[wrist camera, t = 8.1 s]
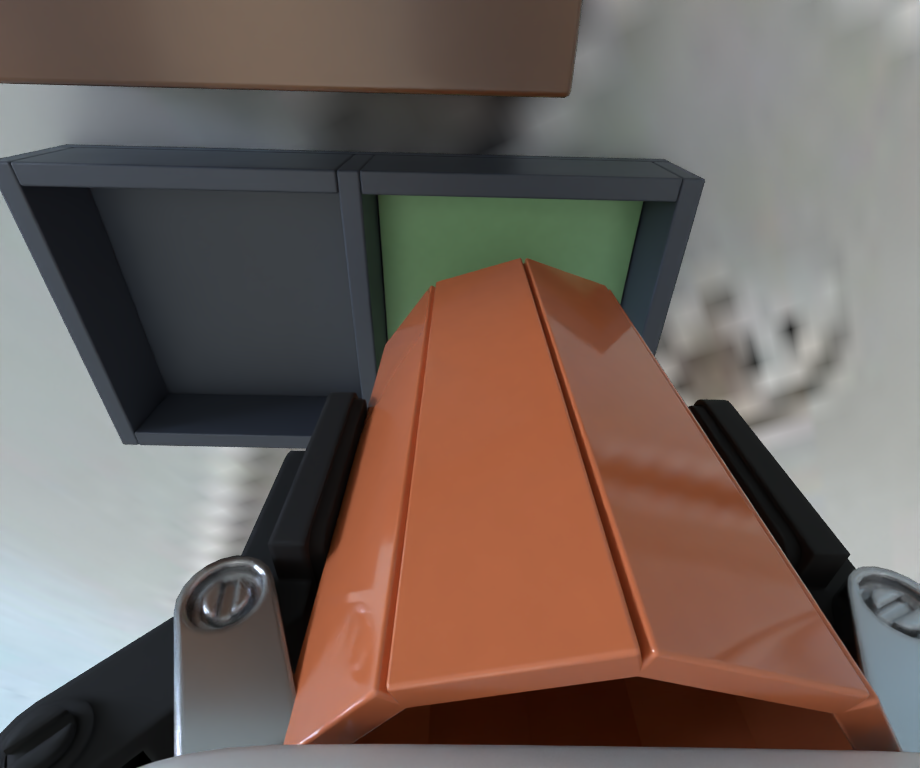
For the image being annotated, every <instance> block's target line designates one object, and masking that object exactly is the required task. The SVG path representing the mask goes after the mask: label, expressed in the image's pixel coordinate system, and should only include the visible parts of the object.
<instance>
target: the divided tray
mask: <svg viewBox="0 0 920 768" xmlns="http://www.w3.org/2000/svg"><path fill="white" fill-rule="evenodd" d="M704 183H705V179H703V178H701V177H699V176H697V175H695V174H693V173H691V172H689V171H687V170H685V169H683V168H681V167H679V166H677V165H675V164H673V163H671V162H669V161H667V160H665V159H629V158H589V157H549V156H509V155H468V154H428V153H388V152H348V151H308V150H268V149H227V148H187V147H147V146H107V145H67V144H66V145H62V146H57V147H53V148H48V149H43V150H38V151H33V152H29V153H24V154H19V155H14V156H10V157H5V158H0V191H1V193H2V195H3V197H4V199H5V201H6V203H7V205H8V207H9V209H10V211H11V213H12V215H13V218H14V220H15V222H16V224H17V226H18V228H19V230H20V232H21V234H22V236H23V238H24V240H25V242H26V244H27V246H28V248H29V251H30V253H31V255H32V257H33V259H34V261H35V263H36V265H37V267H38V269H39V271H40V273H41V275H42V277H43V279H44V281H45V284H46V286H47V288H48V290H49V292H50V294H51V296H52V298H53V300H54V302H55V304H56V306H57V308H58V310H59V312H60V315H61V317H62V319H63V321H64V323H65V325H66V327H67V329H68V331H69V333H70V335H71V337H72V339H73V341H74V343H75V345H76V348H77V350H78V352H79V354H80V356H81V358H82V360H83V362H84V364H85V366H86V368H87V370H88V372H89V374H90V376H91V378H92V381H93V383H94V385H95V387H96V389H97V391H98V393H99V395H100V397H101V399H102V401H103V403H104V405H105V407H106V409H107V412H108V414H109V416H110V418H111V420H112V422H113V424H114V426H115V428H116V430H117V432H118V434H119V436H120V438H121V440H122V442H123V444H131V445H138V444H140V445H167V446H215V447H262V448H307V446H308V443H309V441H310V438H311V436H312V434H313V431H314V429H315V426H316V424H317V421H318V419H319V416H320V414H321V411H322V409H323V407H324V404H325V402H326V399H327V397H328V395H329V393H330V392H354V393H356V394H357V396H358V399H365V400H366V403H367V409H368V405H369V402H370V398H371V394H372V391H373V387H374V384H375V380H376V376H377V373H378V369H379V366H380V362H381V358H382V355H383V351H384V348H385V345H386V343H387V342H388V341H389V339H390V338H391V337H392V335H393V334H394V333H395V332H396V330H397V329H398V328H399V326H400V325H401V324H402V322H403V321H404V320H405V319H406V317H407V316H408V315H409V313H410V312H411V311H412V309H413V308H414V307H415V306H416V304H417V303H418V302H419V300H420V299H421V298H422V296H423V295H424V294H425V293H426V291H427V290H428V289H429V287H430V286H434V287H435V285H436V282H438V281H441V280H445V279H448V278H452V277H455V276H459V275H462V274H466V273H469V272H473V271H476V270H480V269H483V268H487V267H490V266H494V265H497V264H501V263H504V262H508V261H511V260H515V259H518V258H521V259H522V261H523V263H524V261H525V259H526V258H528V259H531V260H534V261H537V262H540V263H543V264H545V265H548V266H551V267H554V268H557V269H560V270H563V271H565V272H568V273H571V274H574V275H577V276H580V277H582V278H585V279H588V280H591V281H594V282H597V283H599V284H602V285H605V286H606V287H607V289H608V290H609V289H610V290H611V291H612V293H613V294H614V296H615V297H616V299H617V300H618V302H619V303H620V305H621V306H622V308H623V309H624V311H625V312H626V314H627V315H628V317H629V318H630V320H631V322H632V323H633V325H634V326H635V328H636V329H637V331H638V332H639V334H640V335H641V337H642V338H643V340H644V341H645V343H646V344H647V346H648V347H649V349H650V350H651V352H652V353H653V355H654V356H655V354H656V350H657V347H658V343H659V340H660V336H661V333H662V329H663V326H664V322H665V319H666V315H667V312H668V308H669V305H670V301H671V298H672V294H673V291H674V287H675V284H676V280H677V277H678V273H679V270H680V266H681V263H682V259H683V256H684V252H685V249H686V245H687V242H688V239H689V235H690V232H691V228H692V225H693V221H694V218H695V214H696V211H697V207H698V204H699V200H700V197H701V193H702V190H703V186H704Z"/></svg>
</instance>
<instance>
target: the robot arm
mask: <svg viewBox="0 0 920 768" xmlns="http://www.w3.org/2000/svg"><path fill="white" fill-rule="evenodd" d="M688 408H689V410H690V411H691V413H692V414H693V416H694V417H695V419H696V420H697V422H698V423H699V425H700V426H701V428H702V429H703V431H704V432H705V434H706V435H707V437H708V439H709V440H710V442H711V443H712V445H713V446H714V448H715V449H716V451H717V452H718V454H719V455H720V457H721V458H722V460H723V461H724V463H725V464H726V466H727V467H728V469H729V470H730V472H731V473H732V475H733V476H734V478H735V480H736V481H737V483H738V484H739V486H740V487H741V489H742V490H743V492H744V493H745V495H746V496H747V498H748V499H749V501H750V502H751V504H752V505H753V507H754V508H755V510H756V511H757V513H758V514H759V516H760V518H761V519H762V521H763V522H764V524H765V525H766V527H767V528H768V530H769V531H770V533H771V534H772V536H773V537H774V539H775V540H776V542H777V543H778V545H779V546H780V548H781V549H782V551H783V552H784V554H785V555H786V557H787V559H788V560H789V562H790V563H791V565H792V566H793V568H794V569H795V571H796V572H797V574H798V575H799V577H800V578H801V580H802V581H803V583H804V584H805V586H806V587H807V589H808V590H809V592H810V593H811V595H812V597H813V598H814V600H815V601H816V603H817V604H818V606H819V607H820V609H821V610H822V612H823V613H824V615H825V616H826V618H827V619H828V621H829V622H830V624H831V625H832V627H833V628H834V630H835V631H836V633H837V634H838V636H839V638H840V639H841V641H842V642H843V644H844V645H845V647H846V648H847V650H848V651H849V653H850V654H851V656H852V657H853V659H854V660H855V662H856V663H857V665H858V666H859V668H860V669H861V671H862V672H863V674H864V676H865V677H866V679H867V680H868V682H869V683H870V685H871V686H872V688H873V689H874V691H875V692H876V694H877V695H878V697H879V699H880V701H881V703H882V706H883V708H884V710H885V712H886V714H887V717H888V719H889V721H890V723H891V725H892V728H893V730H894V732H895V734H896V737H897V739H898V741H899V743H900V745H901V748H902V750H903V752H891V751H857V750H805V749H753V748H696V747H628V746H554V745H453V744H309V745H283V744H284V740H285V736H286V732H287V729H288V725H289V721H290V717H291V713H292V710H293V706H294V702H295V698H296V690H295V682H294V673H295V669H296V666H297V662H298V659H299V655H300V651H301V648H302V644H303V640H304V637H305V633H306V630H307V626H308V622H309V619H310V615H311V611H312V608H313V604H314V601H315V597H316V593H317V590H318V586H319V583H320V579H321V575H322V572H323V568H324V565H325V562H326V558H327V555H328V551H329V547H330V544H331V540H332V536H333V533H334V529H335V526H336V522H337V518H338V515H339V511H340V507H341V504H342V500H343V497H344V493H345V489H346V486H347V482H348V478H349V475H350V471H351V468H352V464H353V460H354V457H355V453H356V449H357V446H358V442H359V439H360V435H361V431H362V428H363V424H364V420H365V417H366V413H367V403H366V400H365V399H358V396H357V394H356V393H354V392H330V393H329V395H328V397H327V399H326V402H325V404H324V407H323V409H322V411H321V414H320V416H319V419H318V421H317V424H316V426H315V429H314V431H313V434H312V436H311V438H310V441H309V443H308V446H307V448H306V451H290V452H289V453H288V454H287V456H286V458H285V459H284V462H283V464H282V466H281V468H280V470H279V473H278V475H277V477H276V479H275V482H274V484H273V486H272V488H271V490H270V493H269V495H268V497H267V499H266V502H265V504H264V506H263V508H262V510H261V513H260V515H259V517H258V519H257V522H256V524H255V526H254V528H253V530H252V533H251V535H250V537H249V539H248V541H247V544H246V546H245V548H244V550H243V553H242V555H241V556H232V557H228V558H223V559H220V560H218V561H216V562H214V563H211V564H209V565H207V566H206V567H204V568H203V569H202V570H200V571H199V572H197V573H196V574H195V575H194V576H193V577H192V578H191V579H190V580H189V581H188V582H187V583H186V584H185V586H184V587H183V588H182V590H181V592H180V594H179V596H178V598H177V599H176V604H175V609H174V617H172V618H170V619H169V620H167V621H166V622H164V623H162V624H161V625H159V626H158V627H156V628H154V629H153V630H151V631H150V632H148V633H146V634H145V635H143V636H142V637H140V638H138V639H137V640H135V641H134V642H132V643H130V644H129V645H127V646H126V647H124V648H122V649H121V650H119V651H118V652H116V653H114V654H113V655H111V656H110V657H108V658H106V659H105V660H103V661H102V662H100V663H98V664H97V665H95V666H94V667H92V668H90V669H89V670H87V671H86V672H84V673H82V674H81V675H79V676H78V677H76V678H74V679H73V680H71V681H70V682H68V683H66V684H65V685H63V686H62V687H60V688H58V689H57V690H55V691H54V692H52V693H50V694H49V695H47V696H45V697H44V698H42V699H41V700H39V701H37V702H36V703H35V704H33V705H32V706H31V707H29V708H28V709H26V710H25V711H24V712H22V713H21V714H20V715H18V716H17V717H16V718H15V719H14V720H13V721H12V722H11V723H10V724H9V725H8V726H7V727H6V728H5V729H4V730H3V731H2V732H1V733H0V768H920V584H918V583H917V582H915V581H913V580H912V579H910V578H908V577H906V576H904V575H901V574H899V573H897V572H894V571H892V570H888V569H884V568H880V567H861V568H858V569H855V567H854V566H853V565H852V563H851V562H850V561H849V560H848V557H849V556H850V553H849V552H848V551H847V550H846V548H845V547H844V546H843V545H842V543H841V542H840V541H839V539H838V538H837V537H836V536H835V534H834V533H833V532H832V531H831V529H830V528H829V527H828V526H827V524H826V523H825V522H824V521H823V519H822V518H821V517H820V515H819V514H818V513H817V512H816V510H815V509H814V508H813V507H812V505H811V504H810V503H809V502H808V500H807V499H806V498H805V497H804V495H803V494H802V493H801V491H800V490H799V489H798V488H797V486H796V485H795V484H794V483H793V481H792V480H791V479H790V478H789V476H788V475H787V474H786V473H785V471H784V470H783V469H782V467H781V466H780V465H779V464H778V462H777V461H776V460H775V459H774V457H773V456H772V455H771V454H770V452H769V451H768V450H767V449H766V447H765V446H764V445H763V443H762V442H761V441H760V440H759V438H758V437H757V436H756V435H755V433H754V432H753V431H752V430H751V428H750V427H749V426H748V425H747V423H746V422H745V421H744V419H743V418H742V417H741V416H740V414H739V413H738V412H737V411H736V409H735V408H734V407H733V406H732V404H731V403H730V402H729V401H726V400H697V402H696V403H695V404H694V406H689V407H688Z"/></svg>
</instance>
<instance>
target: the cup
mask: <svg viewBox="0 0 920 768" xmlns="http://www.w3.org/2000/svg"><path fill="white" fill-rule="evenodd" d="M294 682H295V690H296V698H295V702H294V706H293V710H292V713H291V717H290V721H289V725H288V729H287V732H286V736H285V740H284V744H283V745H309V744H453V745H554V746H628V747H696V748H753V749H805V750H857V751H891V752H903V750H902V748H901V745H900V743H899V741H898V739H897V737H896V734H895V732H894V730H893V728H892V725H891V723H890V721H889V719H888V717H887V714H886V712H885V710H884V708H883V706H882V703H881V701H880V699H879V697H878V695H877V694H876V692H875V691H874V689H873V688H872V686H871V685H870V683H869V682H868V680H867V679H866V677H865V676H864V674H863V672H862V671H861V669H860V668H859V666H858V665H857V663H856V662H855V660H854V659H853V657H852V656H851V654H850V653H849V651H848V650H847V648H846V647H845V645H844V644H843V642H842V641H841V639H840V638H839V636H838V634H837V633H836V631H835V630H834V628H833V627H832V625H831V624H830V622H829V621H828V619H827V618H826V616H825V615H824V613H823V612H822V610H821V609H820V607H819V606H818V604H817V603H816V601H815V600H814V598H813V597H812V595H811V593H810V592H809V590H808V589H807V587H806V586H805V584H804V583H803V581H802V580H801V578H800V577H799V575H798V574H797V572H796V571H795V569H794V568H793V566H792V565H791V563H790V562H789V560H788V559H787V557H786V555H785V554H784V552H783V551H782V549H781V548H780V546H779V545H778V543H777V542H776V540H775V539H774V537H773V536H772V534H771V533H770V531H769V530H768V528H767V527H766V525H765V524H764V522H763V521H762V519H761V518H760V516H759V514H758V513H757V511H756V510H755V508H754V507H753V505H752V504H751V502H750V501H749V499H748V498H747V496H746V495H745V493H744V492H743V490H742V489H741V487H740V486H739V484H738V483H737V481H736V480H735V478H734V476H733V475H732V473H731V472H730V470H729V469H728V467H727V466H726V464H725V463H724V461H723V460H722V458H721V457H720V455H719V454H718V452H717V451H716V449H715V448H714V446H713V445H712V443H711V442H710V440H709V439H708V437H707V435H706V434H705V432H704V431H703V429H702V428H701V426H700V425H699V423H698V422H697V420H696V419H695V417H694V416H693V414H692V413H691V411H690V410H689V408H688V407H687V405H686V404H685V402H684V401H683V399H682V397H681V396H680V394H679V393H678V391H677V390H676V388H675V387H674V385H673V384H672V382H671V381H670V379H669V378H668V376H667V375H666V373H665V372H664V370H663V369H662V367H661V366H660V364H659V363H658V361H657V360H656V358H655V356H654V355H653V353H652V352H651V350H650V349H649V347H648V346H647V344H646V343H645V341H644V340H643V338H642V337H641V335H640V334H639V332H638V331H637V329H636V328H635V326H634V325H633V323H632V322H631V320H630V318H629V317H628V315H627V314H626V312H625V311H624V309H623V308H622V306H621V305H620V303H619V302H618V300H617V299H616V297H615V296H614V294H613V293H612V291H611V290H610V289H609V290H608V289H607V287H606V286H605V285H602V284H599V283H597V282H594V281H591V280H588V279H585V278H582V277H580V276H577V275H574V274H571V273H568V272H565V271H563V270H560V269H557V268H554V267H551V266H548V265H545V264H543V263H540V262H537V261H534V260H531V259H528V258H526V259H525V261H524V263H523V261H522V259H521V258H518V259H515V260H511V261H508V262H504V263H501V264H497V265H494V266H490V267H487V268H483V269H480V270H476V271H473V272H469V273H466V274H462V275H459V276H455V277H452V278H448V279H445V280H441V281H438V282H436V285H435V287H434V286H430V287H429V289H428V290H427V291H426V293H425V294H424V295H423V296H422V298H421V299H420V300H419V302H418V303H417V304H416V306H415V307H414V308H413V309H412V311H411V312H410V313H409V315H408V316H407V317H406V319H405V320H404V321H403V322H402V324H401V325H400V326H399V328H398V329H397V330H396V332H395V333H394V334H393V335H392V337H391V338H390V339H389V341H388V342H387V343H386V345H385V348H384V351H383V355H382V358H381V362H380V366H379V369H378V373H377V376H376V380H375V384H374V387H373V391H372V394H371V398H370V402H369V405H368V409H367V413H366V417H365V420H364V424H363V428H362V431H361V435H360V439H359V442H358V446H357V449H356V453H355V457H354V460H353V464H352V468H351V471H350V475H349V478H348V482H347V486H346V489H345V493H344V497H343V500H342V504H341V507H340V511H339V515H338V518H337V522H336V526H335V529H334V533H333V536H332V540H331V544H330V547H329V551H328V555H327V558H326V562H325V565H324V568H323V572H322V575H321V579H320V583H319V586H318V590H317V593H316V597H315V601H314V604H313V608H312V611H311V615H310V619H309V622H308V626H307V630H306V633H305V637H304V640H303V644H302V648H301V651H300V655H299V659H298V662H297V666H296V669H295V673H294Z"/></svg>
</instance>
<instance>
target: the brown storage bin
mask: <svg viewBox="0 0 920 768" xmlns="http://www.w3.org/2000/svg"><path fill="white" fill-rule="evenodd" d="M582 2H583V0H0V83H6V84H45V85H84V86H123V87H162V88H201V89H240V90H279V91H318V92H357V93H396V94H435V95H474V96H513V97H552V98H565V97H567V96H569V94H570V92H571V88H572V80H573V72H574V64H575V57H576V49H577V41H578V33H579V26H580V18H581V10H582Z"/></svg>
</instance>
